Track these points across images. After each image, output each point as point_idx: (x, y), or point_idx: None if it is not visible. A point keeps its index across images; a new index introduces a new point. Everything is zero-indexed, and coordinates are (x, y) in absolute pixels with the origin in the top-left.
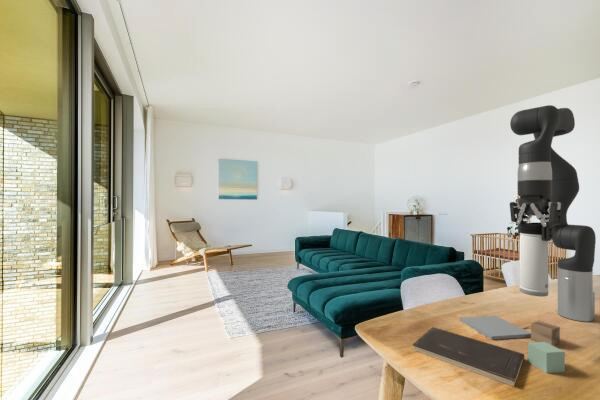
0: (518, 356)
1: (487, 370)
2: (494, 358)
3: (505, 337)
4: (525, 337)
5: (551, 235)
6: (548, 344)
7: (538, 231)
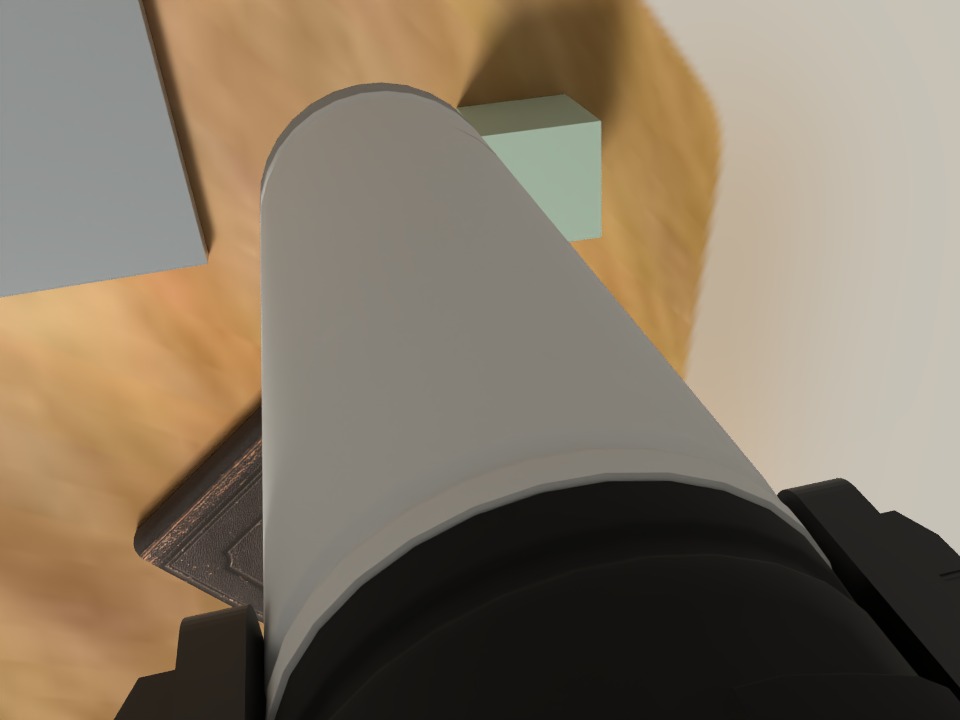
0: None
1: None
2: None
3: (181, 156)
4: None
5: (955, 582)
6: (514, 144)
7: None
